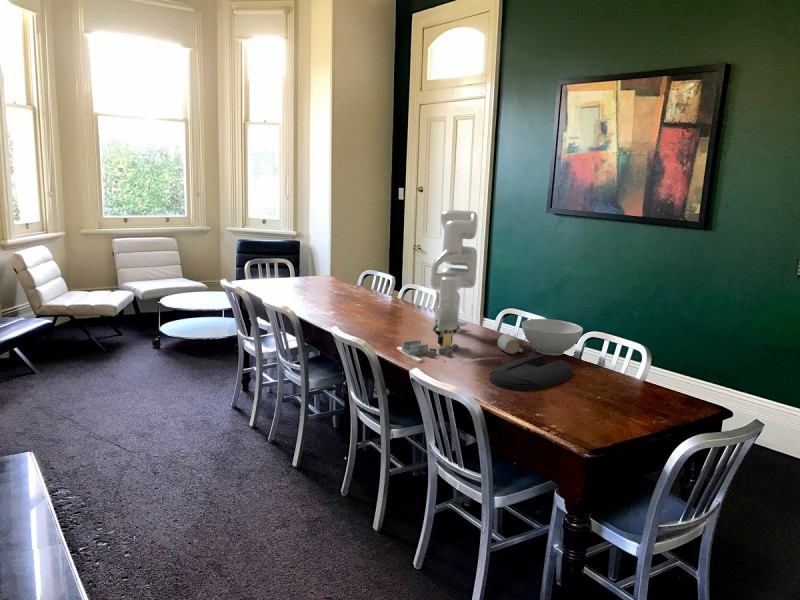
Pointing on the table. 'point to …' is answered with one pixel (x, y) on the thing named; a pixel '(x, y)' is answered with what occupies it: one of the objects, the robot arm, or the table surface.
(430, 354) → the board
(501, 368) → the folded dark cloth
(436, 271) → the robot arm
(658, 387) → the table surface
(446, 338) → the connector
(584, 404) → the table surface
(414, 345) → the end holder
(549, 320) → the decorative bowl
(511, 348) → the ceramic mug
